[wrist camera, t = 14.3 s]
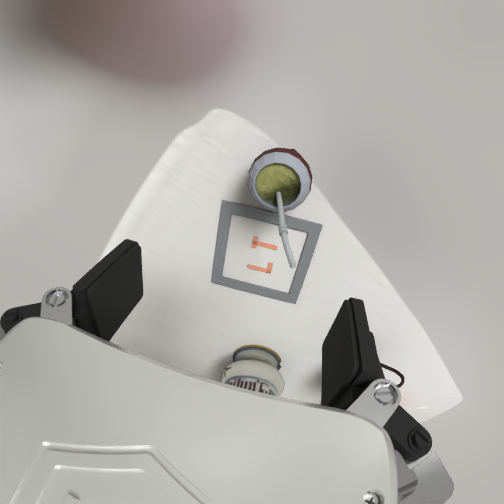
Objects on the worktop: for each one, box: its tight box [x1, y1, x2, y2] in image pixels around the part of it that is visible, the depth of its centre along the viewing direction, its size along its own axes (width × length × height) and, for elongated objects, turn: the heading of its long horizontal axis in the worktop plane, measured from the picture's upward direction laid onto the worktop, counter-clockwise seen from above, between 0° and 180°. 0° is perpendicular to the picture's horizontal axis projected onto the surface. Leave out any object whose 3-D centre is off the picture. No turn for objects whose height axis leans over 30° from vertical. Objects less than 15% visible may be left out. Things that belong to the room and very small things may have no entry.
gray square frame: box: [212, 201, 322, 304], centre depth 41 cm, size 14×14×1 cm
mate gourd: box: [248, 148, 312, 268], centre depth 28 cm, size 8×8×15 cm
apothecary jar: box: [221, 345, 284, 396], centre depth 45 cm, size 12×12×18 cm
